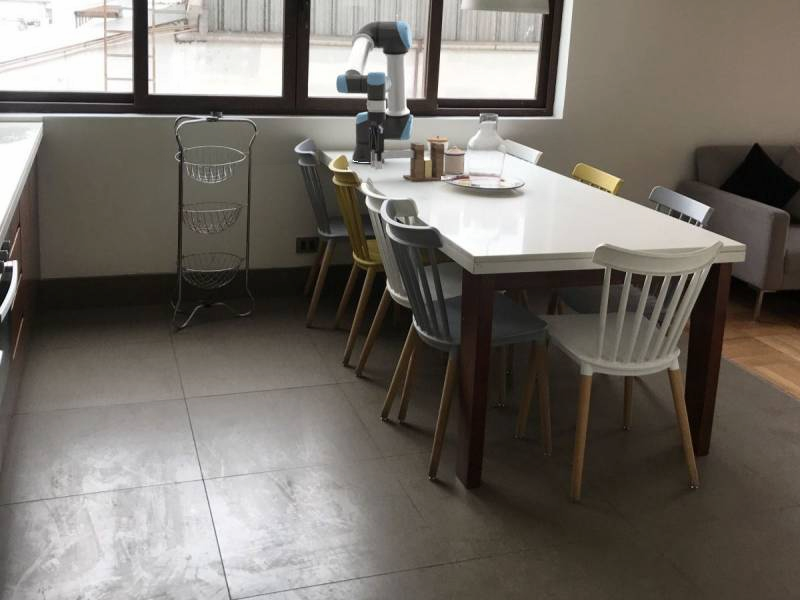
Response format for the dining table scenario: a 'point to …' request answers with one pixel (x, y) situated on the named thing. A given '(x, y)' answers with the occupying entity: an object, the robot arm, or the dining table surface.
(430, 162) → the block
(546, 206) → the dining table surface
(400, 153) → the shaft
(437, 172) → the wooden pillar stand
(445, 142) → the lidded jar
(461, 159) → the teacup with lid
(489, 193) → the dining table surface
